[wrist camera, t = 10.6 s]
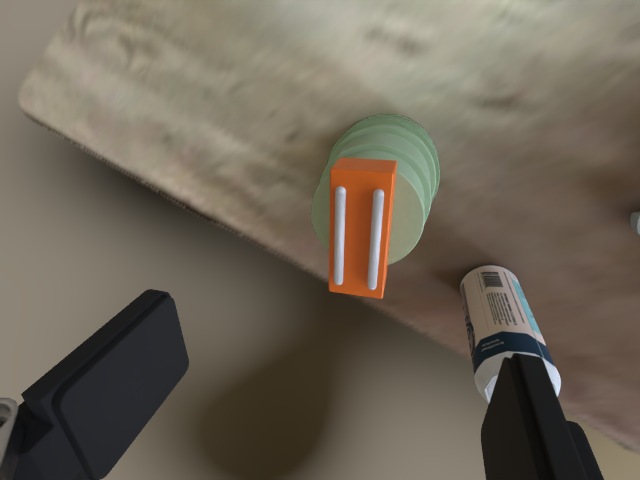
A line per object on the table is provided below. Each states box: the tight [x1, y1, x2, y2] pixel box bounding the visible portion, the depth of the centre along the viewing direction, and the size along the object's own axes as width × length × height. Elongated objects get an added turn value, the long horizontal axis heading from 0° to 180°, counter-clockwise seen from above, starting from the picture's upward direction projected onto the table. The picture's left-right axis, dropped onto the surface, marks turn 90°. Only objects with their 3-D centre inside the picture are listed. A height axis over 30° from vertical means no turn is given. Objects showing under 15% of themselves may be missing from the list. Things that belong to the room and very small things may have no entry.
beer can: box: [460, 266, 561, 403], centre depth 26 cm, size 5×5×12 cm
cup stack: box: [311, 114, 440, 265], centre depth 25 cm, size 9×9×11 cm
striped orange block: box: [329, 157, 397, 299], centre depth 19 cm, size 7×3×3 cm, turn 1°
